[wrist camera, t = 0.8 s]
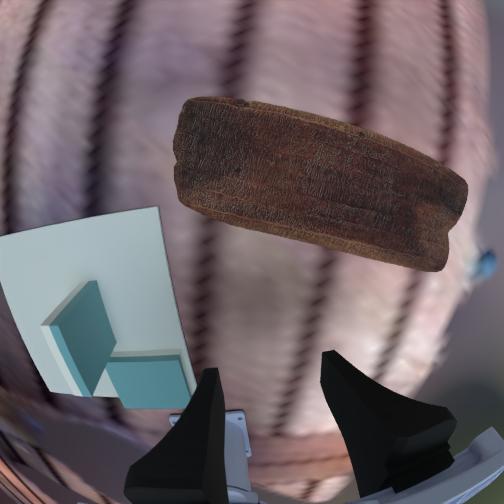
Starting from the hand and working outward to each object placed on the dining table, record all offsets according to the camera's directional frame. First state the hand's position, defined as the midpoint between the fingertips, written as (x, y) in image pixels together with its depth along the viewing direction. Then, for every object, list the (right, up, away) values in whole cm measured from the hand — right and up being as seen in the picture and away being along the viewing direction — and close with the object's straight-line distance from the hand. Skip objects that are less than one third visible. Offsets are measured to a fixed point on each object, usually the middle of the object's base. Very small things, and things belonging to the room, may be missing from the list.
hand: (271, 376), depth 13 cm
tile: (-14, +1, +9) cm, 16 cm away
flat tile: (-10, -6, +11) cm, 16 cm away
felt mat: (-16, 0, +9) cm, 18 cm away
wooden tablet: (+6, +11, +9) cm, 15 cm away
